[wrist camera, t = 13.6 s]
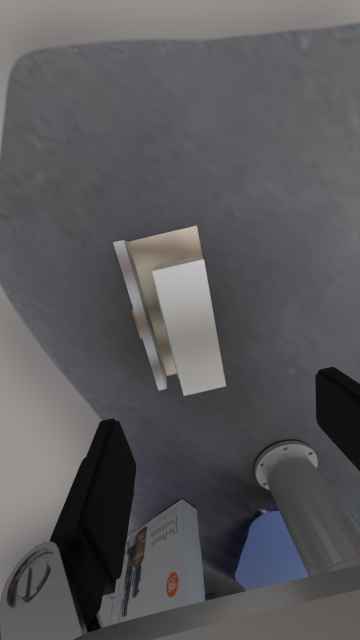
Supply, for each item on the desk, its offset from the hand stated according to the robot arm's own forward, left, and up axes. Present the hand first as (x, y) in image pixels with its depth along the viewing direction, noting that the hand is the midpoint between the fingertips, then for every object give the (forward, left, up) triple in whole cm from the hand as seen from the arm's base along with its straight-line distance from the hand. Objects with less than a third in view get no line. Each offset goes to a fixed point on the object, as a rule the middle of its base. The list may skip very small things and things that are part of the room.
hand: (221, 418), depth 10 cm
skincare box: (-47, +17, -22) cm, 55 cm away
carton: (0, 0, -20) cm, 20 cm away
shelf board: (0, +1, -22) cm, 22 cm away
